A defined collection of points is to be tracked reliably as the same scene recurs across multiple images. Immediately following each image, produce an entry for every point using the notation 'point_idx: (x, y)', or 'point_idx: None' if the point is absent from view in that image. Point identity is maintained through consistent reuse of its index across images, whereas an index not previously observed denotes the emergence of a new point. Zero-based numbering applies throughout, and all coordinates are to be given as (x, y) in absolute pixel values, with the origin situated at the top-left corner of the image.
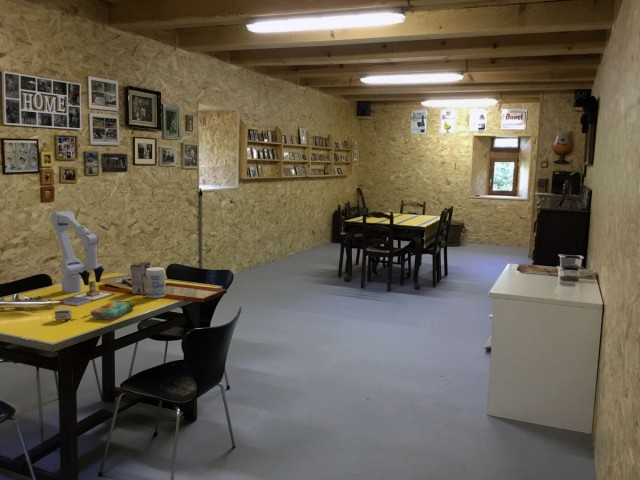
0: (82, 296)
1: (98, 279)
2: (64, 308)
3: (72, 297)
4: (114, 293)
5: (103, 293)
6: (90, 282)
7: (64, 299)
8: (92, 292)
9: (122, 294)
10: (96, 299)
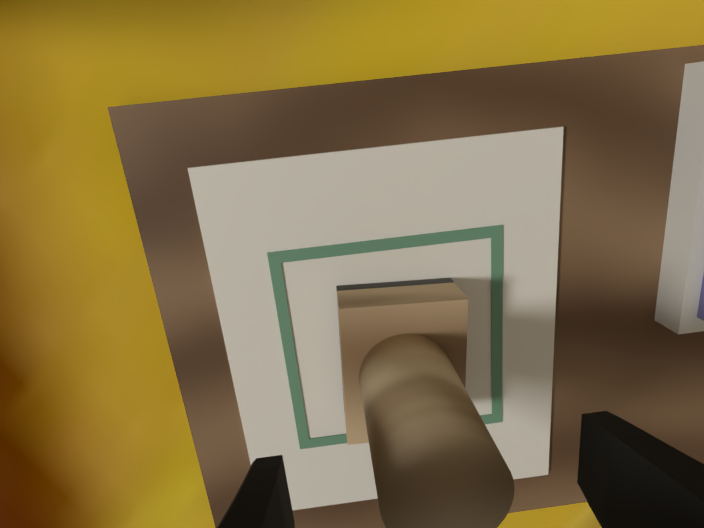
0: (506, 394)
1: (277, 517)
2: None
3: (575, 455)
4: (130, 178)
5: (249, 303)
6: (508, 481)
7: (679, 450)
8: (458, 321)
9: (21, 112)
10: (540, 110)
